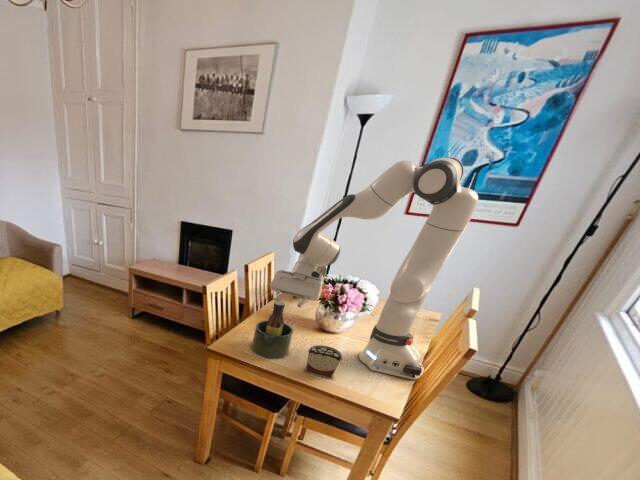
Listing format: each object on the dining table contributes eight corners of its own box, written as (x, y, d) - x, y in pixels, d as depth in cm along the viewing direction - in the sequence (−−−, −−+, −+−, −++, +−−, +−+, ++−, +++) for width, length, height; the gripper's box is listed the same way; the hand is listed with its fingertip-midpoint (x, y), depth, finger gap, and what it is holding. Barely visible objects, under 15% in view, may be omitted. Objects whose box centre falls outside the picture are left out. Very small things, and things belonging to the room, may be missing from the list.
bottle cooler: (292, 348, 168) (298, 327, 162) (279, 362, 158) (285, 340, 153) (260, 337, 175) (264, 317, 169) (245, 350, 166) (250, 329, 160)
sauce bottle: (279, 351, 164) (290, 307, 152) (264, 351, 164) (274, 307, 152) (275, 343, 169) (285, 300, 157) (260, 343, 169) (270, 300, 157)
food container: (337, 372, 152) (345, 349, 147) (335, 379, 148) (343, 357, 142) (304, 363, 158) (310, 341, 152) (301, 370, 153) (307, 348, 147)
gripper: (276, 265, 166) (262, 294, 165) (326, 276, 155) (311, 307, 155) (278, 272, 171) (265, 300, 171) (327, 283, 161) (312, 313, 160)
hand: (287, 303), depth 163 cm, fingers open, 8 cm apart
